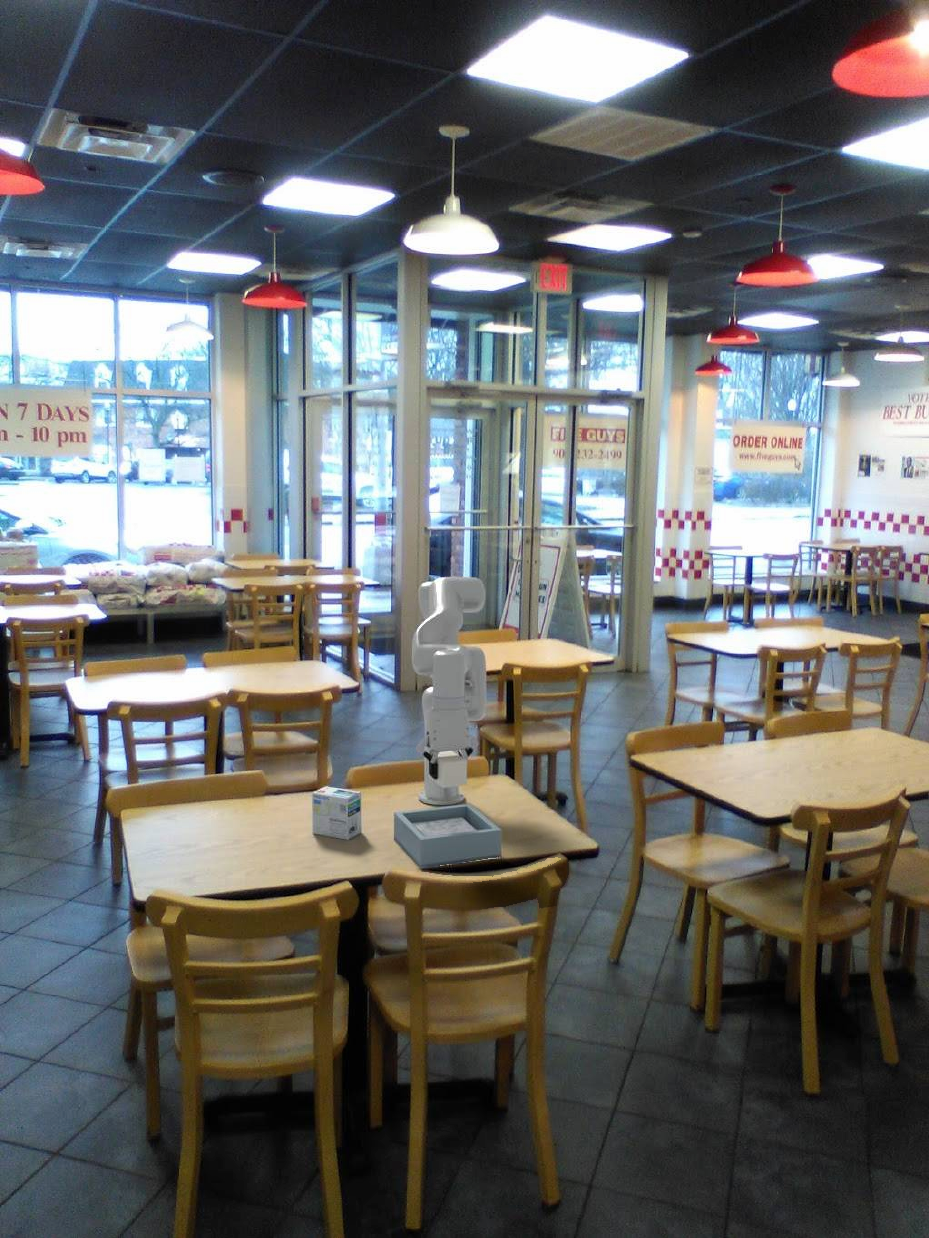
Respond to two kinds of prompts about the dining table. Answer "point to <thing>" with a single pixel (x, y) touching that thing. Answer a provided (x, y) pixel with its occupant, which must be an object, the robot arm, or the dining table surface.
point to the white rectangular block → (451, 770)
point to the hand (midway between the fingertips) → (447, 775)
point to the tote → (447, 837)
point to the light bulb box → (336, 812)
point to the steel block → (443, 827)
